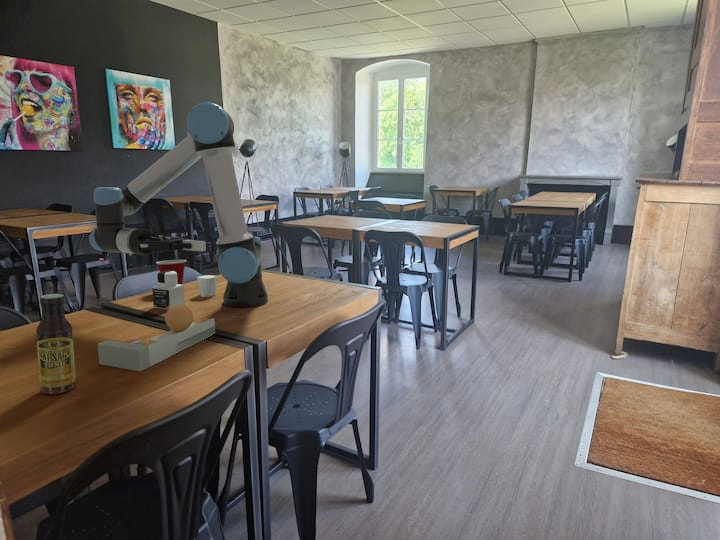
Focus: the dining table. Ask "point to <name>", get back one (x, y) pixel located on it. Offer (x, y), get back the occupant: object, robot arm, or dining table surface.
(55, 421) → the dining table surface
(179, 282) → the plastic cup
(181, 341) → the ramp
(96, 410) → the dining table surface
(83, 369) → the dining table surface
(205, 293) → the white tapered cup
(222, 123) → the robot arm
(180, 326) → the ball
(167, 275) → the medicine bottle
